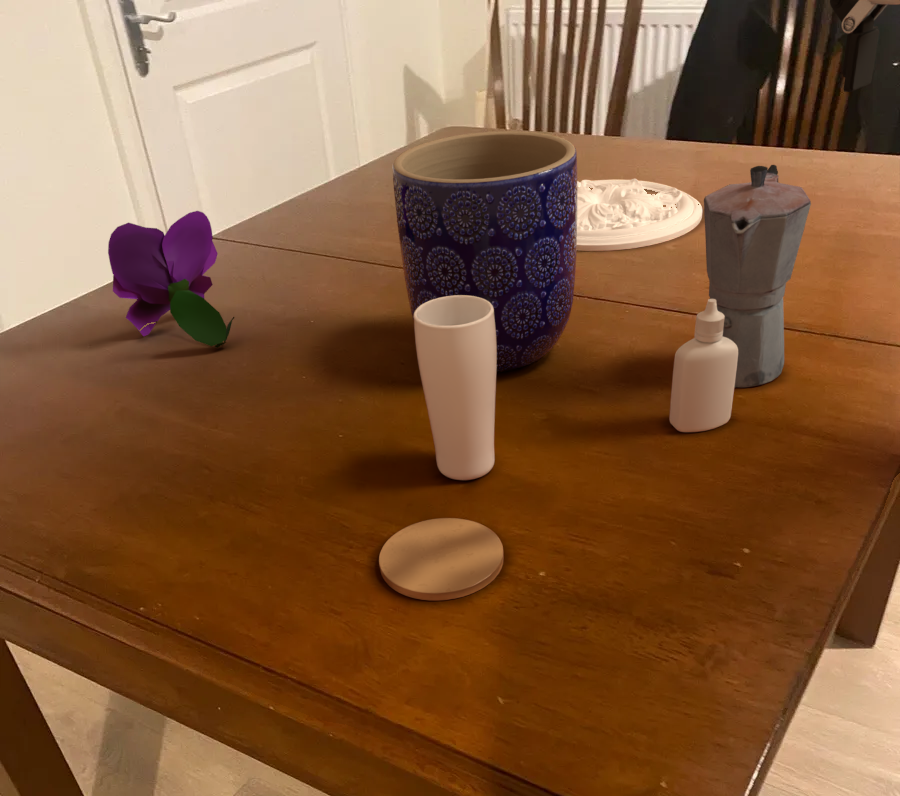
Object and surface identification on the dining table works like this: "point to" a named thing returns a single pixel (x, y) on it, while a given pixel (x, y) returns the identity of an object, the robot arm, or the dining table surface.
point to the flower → (168, 276)
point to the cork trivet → (441, 559)
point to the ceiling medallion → (631, 214)
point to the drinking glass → (459, 381)
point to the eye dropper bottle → (704, 375)
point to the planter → (493, 231)
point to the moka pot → (754, 266)
